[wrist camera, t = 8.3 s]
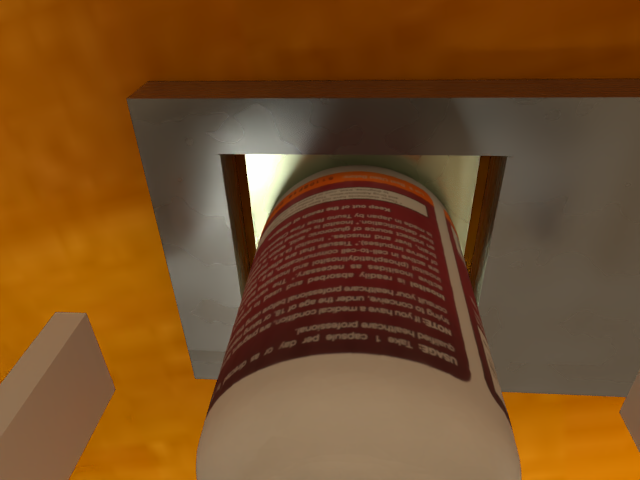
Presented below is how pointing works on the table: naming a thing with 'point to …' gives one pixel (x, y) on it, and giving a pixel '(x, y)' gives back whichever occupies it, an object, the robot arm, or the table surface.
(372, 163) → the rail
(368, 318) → the pill bottle
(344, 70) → the table surface
